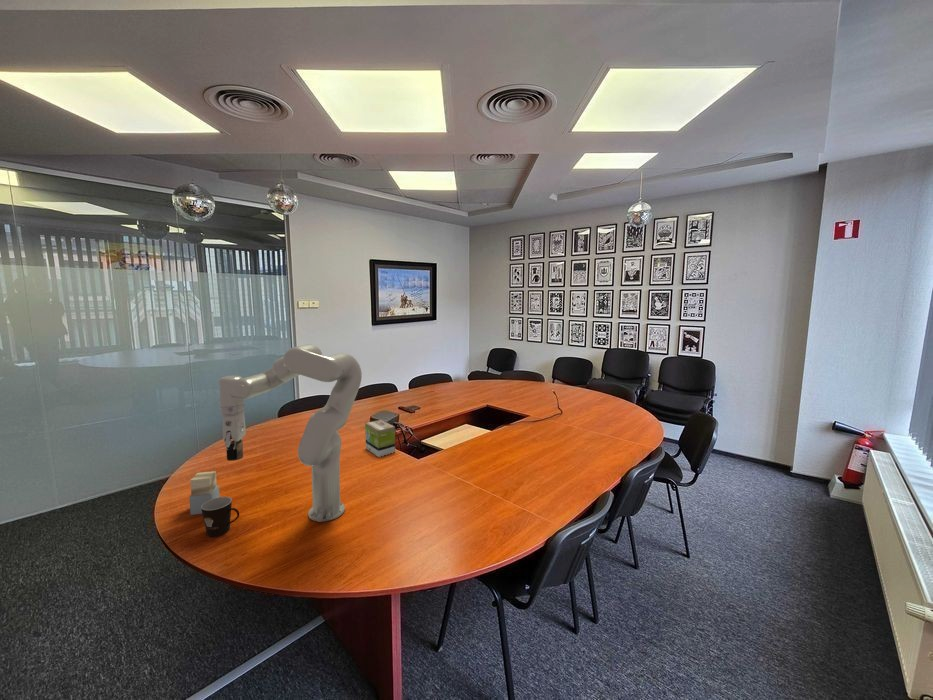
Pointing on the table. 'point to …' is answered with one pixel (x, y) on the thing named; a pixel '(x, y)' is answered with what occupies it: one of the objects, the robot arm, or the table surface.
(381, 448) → the tea box
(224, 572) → the table surface
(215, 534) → the coffee mug
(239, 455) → the walnut cylinder
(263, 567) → the table surface
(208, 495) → the white box
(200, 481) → the birch block
